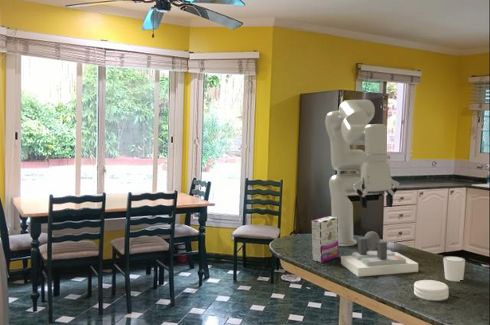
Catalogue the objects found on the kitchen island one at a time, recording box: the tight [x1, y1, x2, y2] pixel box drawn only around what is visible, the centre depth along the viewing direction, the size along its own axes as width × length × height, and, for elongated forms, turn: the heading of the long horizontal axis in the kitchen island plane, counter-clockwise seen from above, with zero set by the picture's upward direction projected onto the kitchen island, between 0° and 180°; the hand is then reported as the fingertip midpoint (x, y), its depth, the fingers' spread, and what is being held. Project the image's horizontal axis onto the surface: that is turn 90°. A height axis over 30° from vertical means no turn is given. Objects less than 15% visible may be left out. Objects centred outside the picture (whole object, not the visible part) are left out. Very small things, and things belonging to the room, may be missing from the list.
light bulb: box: [363, 230, 381, 252], centre depth 189 cm, size 6×6×10 cm
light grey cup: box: [442, 255, 466, 282], centre depth 158 cm, size 7×7×7 cm
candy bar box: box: [311, 215, 340, 263], centre depth 186 cm, size 11×5×16 cm, turn 131°
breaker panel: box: [340, 236, 419, 277], centre depth 173 cm, size 16×23×10 cm
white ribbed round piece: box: [413, 279, 450, 302], centre depth 144 cm, size 10×10×4 cm
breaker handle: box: [376, 240, 388, 259], centre depth 168 cm, size 3×2×6 cm
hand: (376, 207), depth 165 cm, fingers open, 9 cm apart
